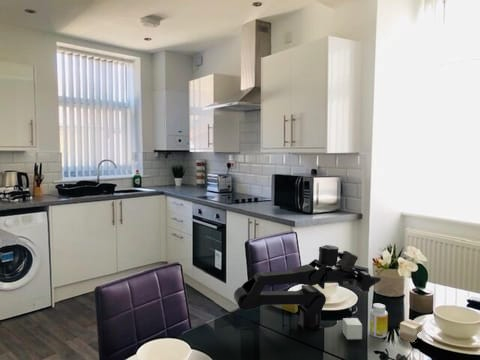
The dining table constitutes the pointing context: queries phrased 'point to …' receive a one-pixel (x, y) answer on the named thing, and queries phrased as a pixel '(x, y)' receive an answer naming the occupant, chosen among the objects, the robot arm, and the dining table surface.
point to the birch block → (410, 330)
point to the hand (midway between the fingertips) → (372, 274)
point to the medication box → (288, 307)
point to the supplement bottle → (378, 320)
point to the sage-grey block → (352, 328)
